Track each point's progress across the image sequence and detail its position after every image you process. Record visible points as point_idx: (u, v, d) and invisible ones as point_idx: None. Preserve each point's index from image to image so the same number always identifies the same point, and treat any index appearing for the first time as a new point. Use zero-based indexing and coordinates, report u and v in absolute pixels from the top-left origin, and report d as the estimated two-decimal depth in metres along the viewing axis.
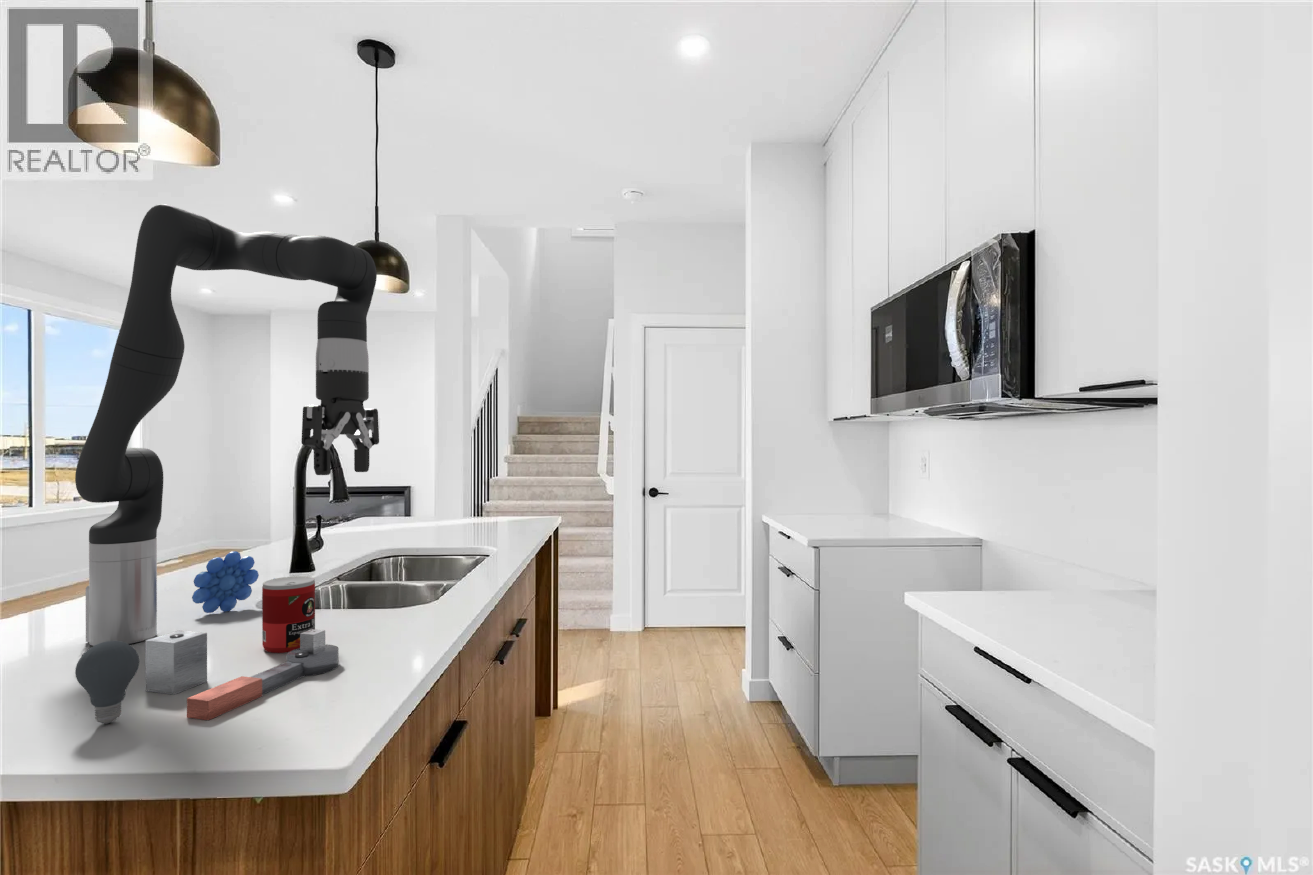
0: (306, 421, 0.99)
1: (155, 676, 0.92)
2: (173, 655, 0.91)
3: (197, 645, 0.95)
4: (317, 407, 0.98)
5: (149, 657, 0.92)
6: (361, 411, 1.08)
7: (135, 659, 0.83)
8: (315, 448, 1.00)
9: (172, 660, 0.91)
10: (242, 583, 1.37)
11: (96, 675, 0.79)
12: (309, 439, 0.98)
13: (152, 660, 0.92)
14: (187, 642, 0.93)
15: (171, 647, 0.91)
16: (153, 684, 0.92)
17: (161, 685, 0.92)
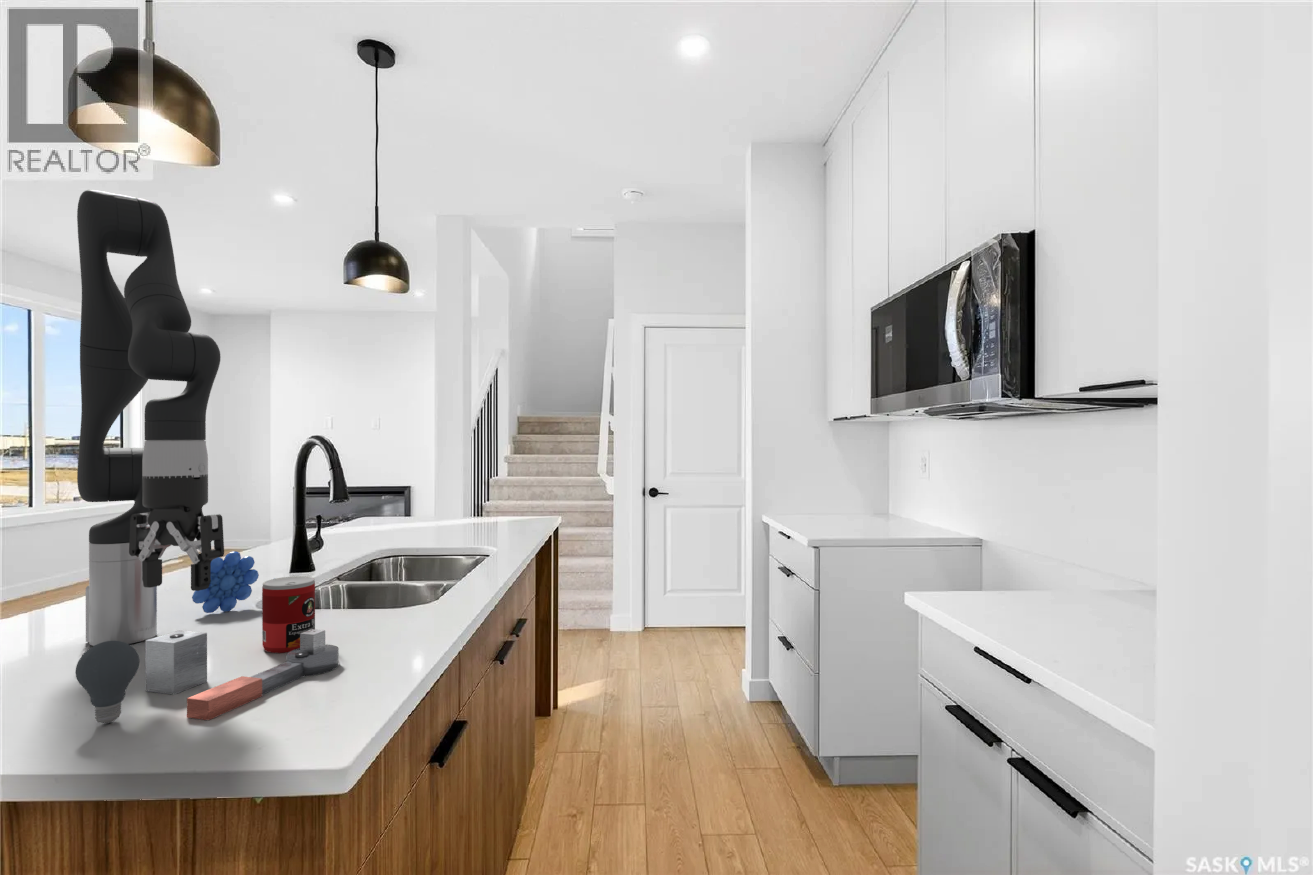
0: (212, 533, 0.92)
1: (155, 676, 0.92)
2: (173, 655, 0.91)
3: (197, 645, 0.95)
4: (220, 516, 0.94)
5: (149, 657, 0.92)
6: None
7: (135, 659, 0.83)
8: (207, 561, 0.93)
9: (172, 660, 0.91)
10: (242, 583, 1.37)
11: (96, 675, 0.79)
12: (216, 551, 0.93)
13: (152, 660, 0.92)
14: (187, 642, 0.93)
15: (171, 647, 0.91)
16: (153, 684, 0.92)
17: (161, 685, 0.92)
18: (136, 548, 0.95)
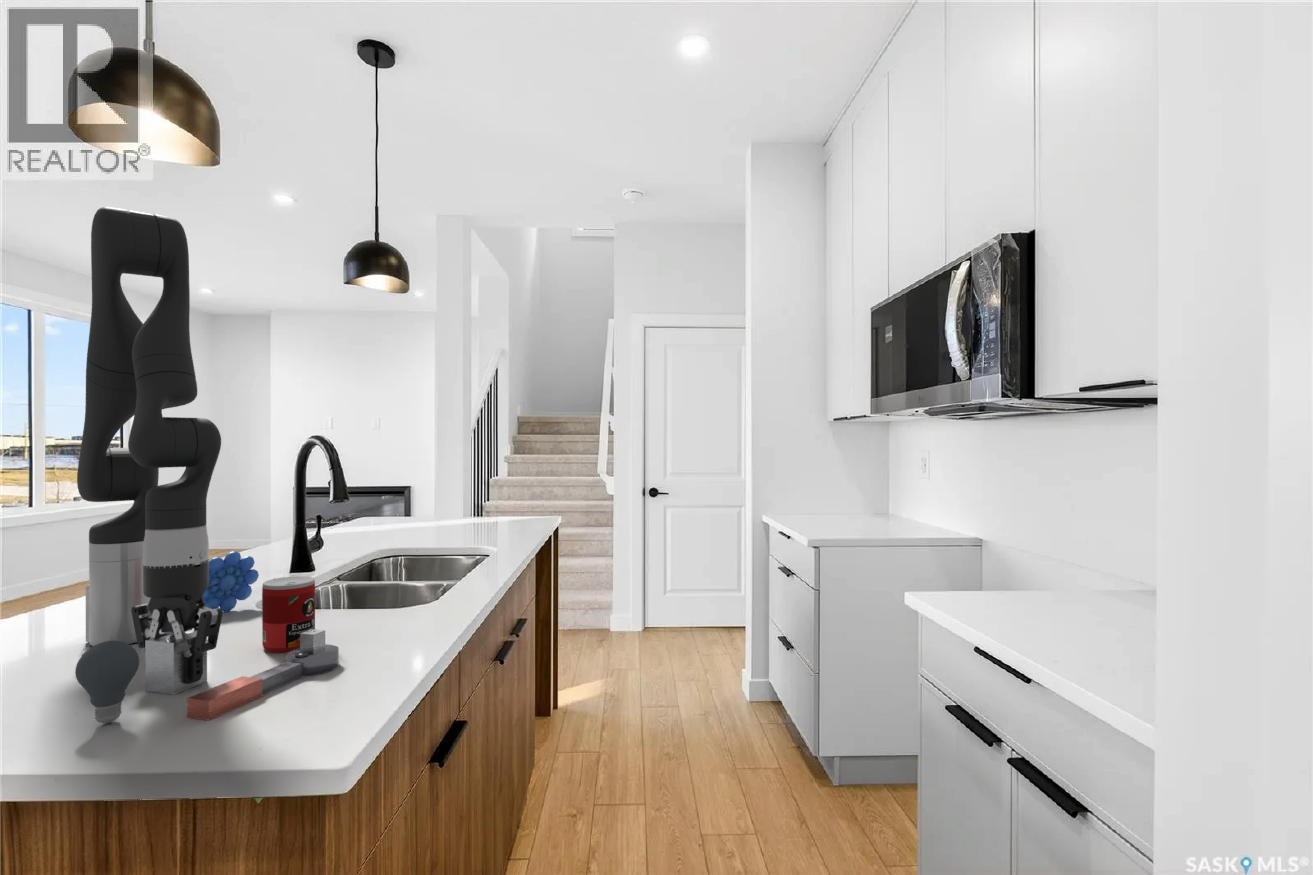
0: (209, 629, 0.92)
1: (155, 676, 0.92)
2: (173, 655, 0.91)
3: None
4: (221, 611, 0.94)
5: (149, 657, 0.92)
6: None
7: (135, 659, 0.83)
8: (199, 654, 0.93)
9: (172, 660, 0.91)
10: (242, 583, 1.37)
11: (96, 675, 0.79)
12: (208, 644, 0.93)
13: (152, 660, 0.92)
14: None
15: (171, 647, 0.91)
16: (153, 684, 0.92)
17: (161, 685, 0.92)
18: None
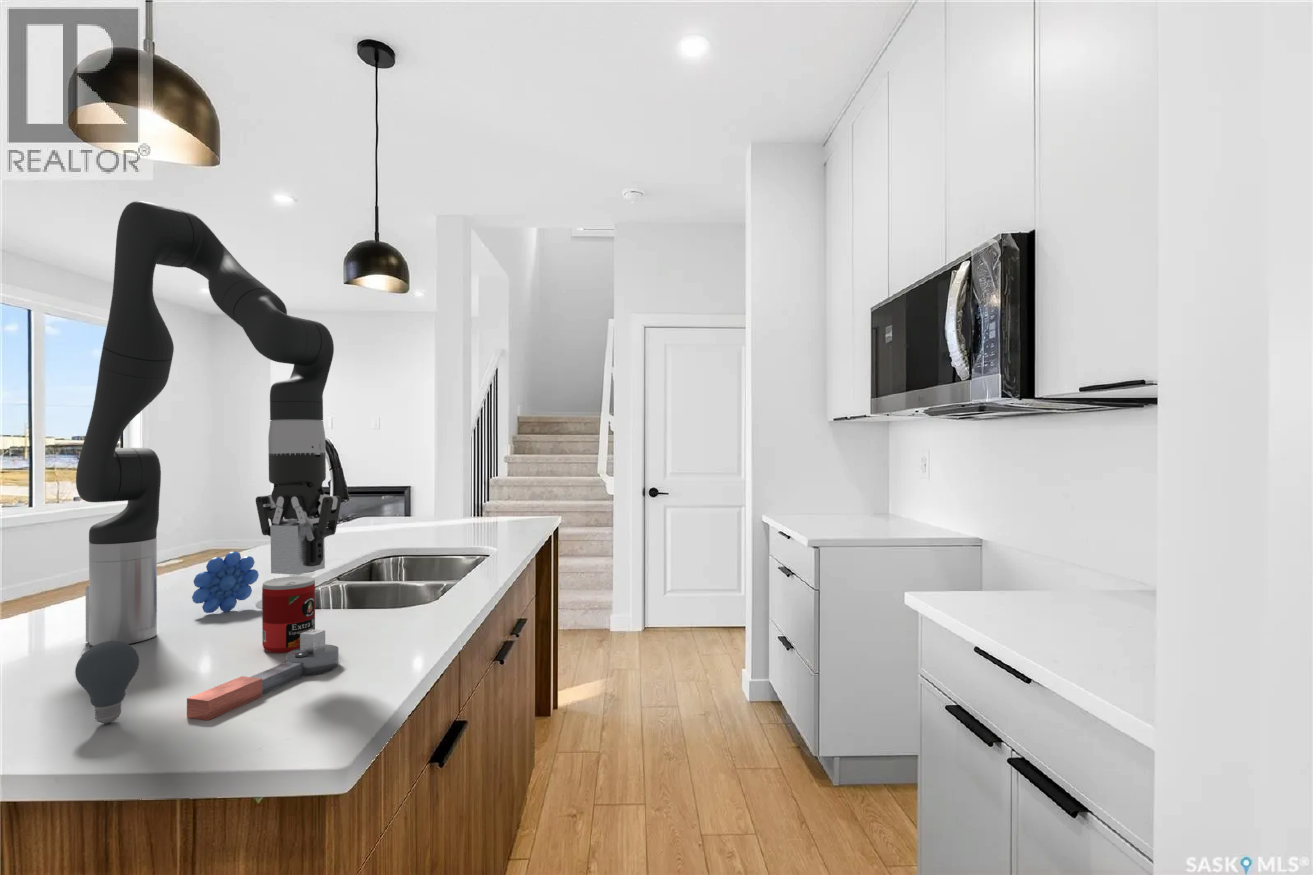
0: (330, 514, 0.98)
1: (280, 558, 0.98)
2: (297, 538, 0.97)
3: None
4: (340, 498, 0.99)
5: (274, 541, 0.98)
6: None
7: (135, 659, 0.83)
8: (320, 538, 0.99)
9: (296, 542, 0.97)
10: (242, 583, 1.37)
11: (96, 675, 0.79)
12: (328, 529, 0.99)
13: (277, 543, 0.98)
14: None
15: (295, 530, 0.97)
16: (278, 566, 0.98)
17: (286, 566, 0.98)
18: (268, 528, 1.00)
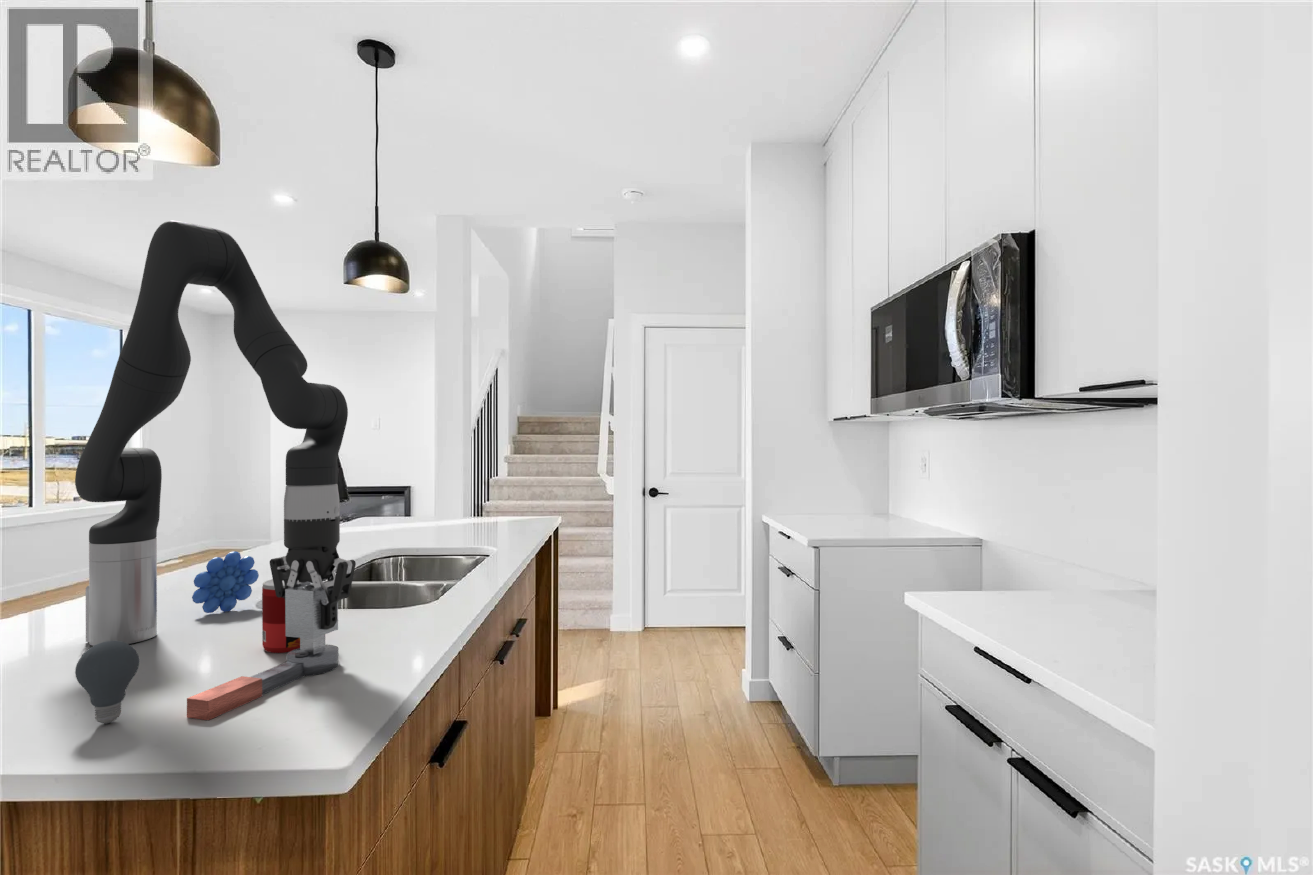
0: (345, 578, 0.99)
1: (295, 622, 0.99)
2: (313, 602, 0.99)
3: None
4: (354, 562, 1.01)
5: (289, 605, 1.00)
6: None
7: (135, 659, 0.83)
8: (334, 602, 1.00)
9: (312, 607, 0.98)
10: (242, 583, 1.37)
11: (96, 675, 0.79)
12: (343, 593, 1.00)
13: (292, 607, 0.99)
14: None
15: (311, 595, 0.98)
16: (293, 630, 0.99)
17: (301, 630, 0.99)
18: (282, 590, 1.02)
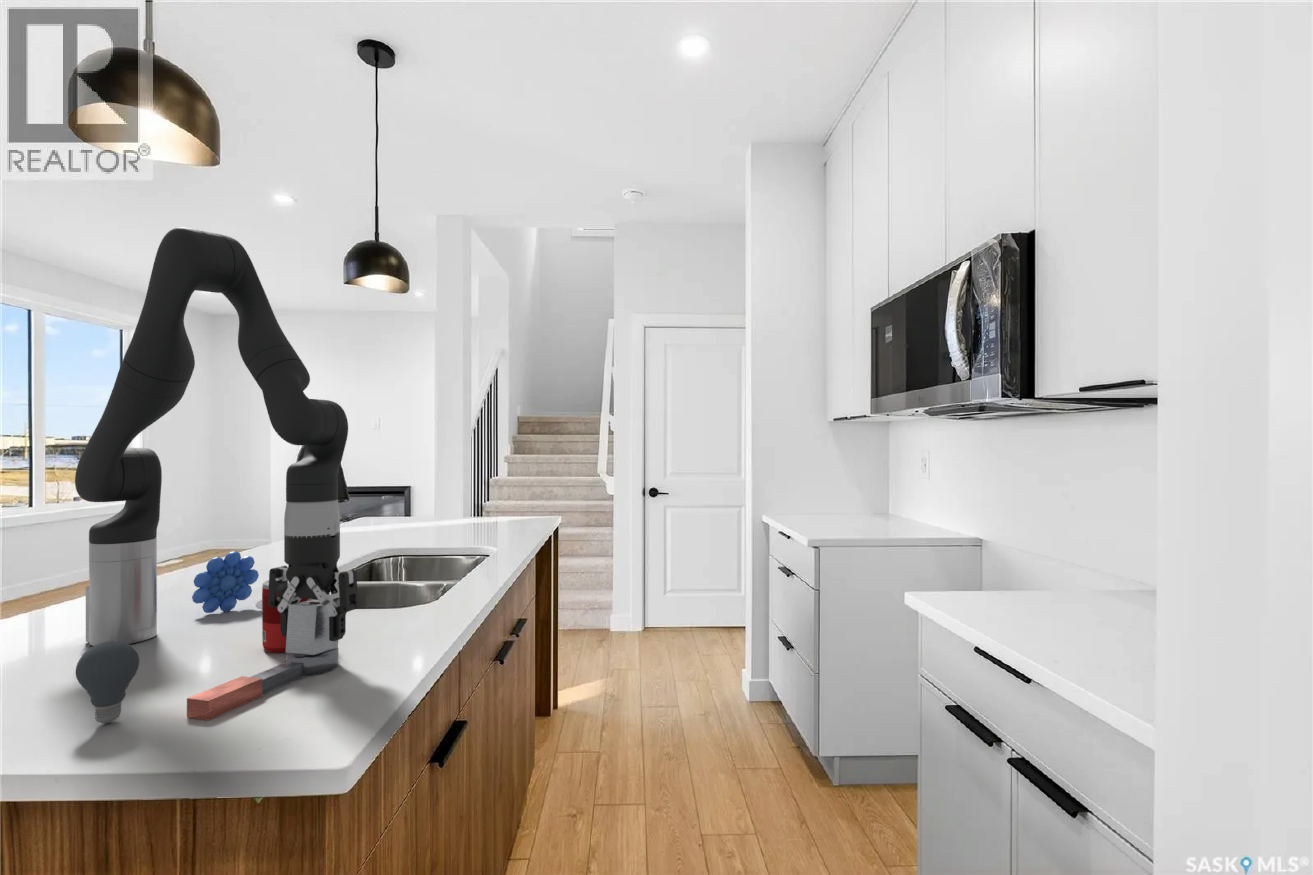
0: (349, 588, 0.99)
1: (296, 638, 1.00)
2: (315, 618, 0.99)
3: None
4: (355, 572, 1.01)
5: (291, 620, 1.00)
6: None
7: (135, 659, 0.83)
8: (343, 613, 1.00)
9: (314, 622, 0.99)
10: (242, 583, 1.37)
11: (96, 675, 0.79)
12: (352, 605, 1.00)
13: (294, 623, 1.00)
14: (326, 608, 1.01)
15: (314, 610, 0.99)
16: (293, 646, 0.99)
17: (301, 646, 0.99)
18: (275, 600, 1.02)
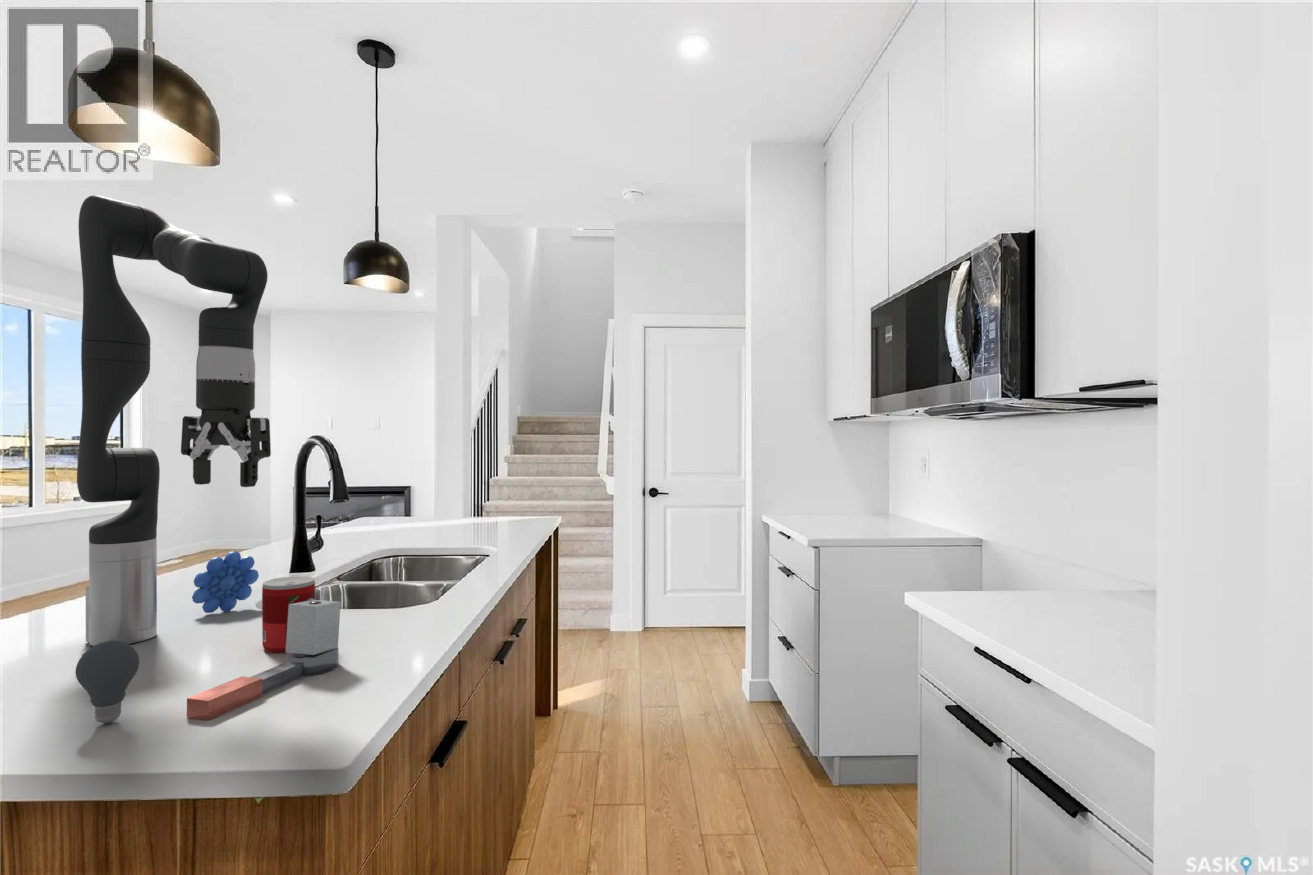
0: (260, 433, 1.00)
1: (296, 638, 1.00)
2: (315, 618, 0.99)
3: (332, 612, 1.02)
4: (268, 420, 1.01)
5: (291, 620, 1.00)
6: None
7: (135, 659, 0.83)
8: (255, 460, 1.00)
9: (314, 622, 0.99)
10: (242, 583, 1.37)
11: (96, 675, 0.79)
12: (263, 451, 1.00)
13: (294, 623, 1.00)
14: (326, 608, 1.01)
15: (314, 610, 0.99)
16: (293, 646, 0.99)
17: (301, 646, 0.99)
18: (188, 448, 1.02)
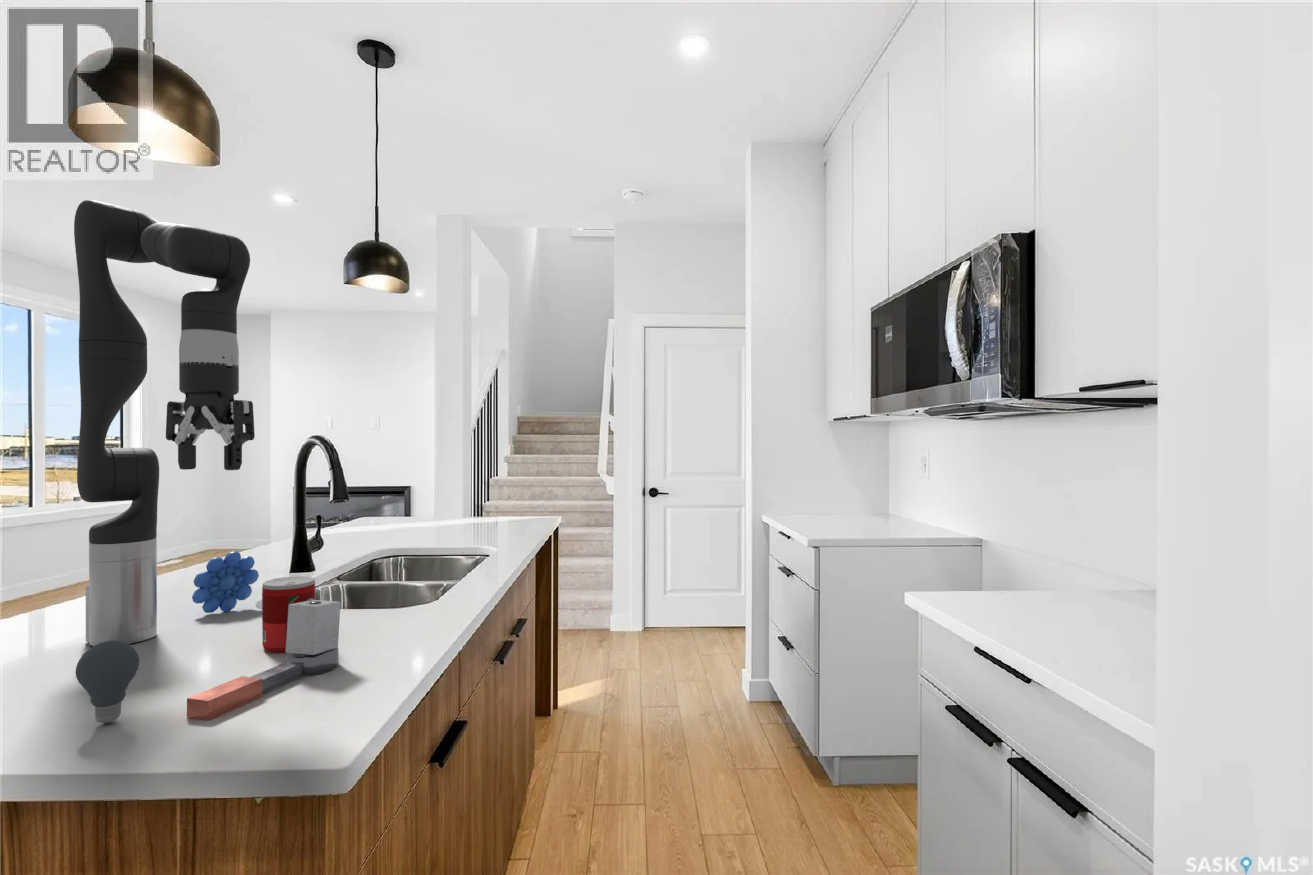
0: (244, 416, 0.99)
1: (296, 638, 1.00)
2: (315, 618, 0.99)
3: (332, 612, 1.02)
4: (251, 403, 1.01)
5: (291, 620, 1.00)
6: None
7: (135, 659, 0.83)
8: (238, 443, 1.00)
9: (314, 622, 0.99)
10: (242, 583, 1.37)
11: (96, 675, 0.79)
12: (247, 434, 1.00)
13: (294, 623, 1.00)
14: (326, 608, 1.01)
15: (314, 610, 0.99)
16: (293, 646, 0.99)
17: (301, 646, 0.99)
18: (172, 433, 1.02)
